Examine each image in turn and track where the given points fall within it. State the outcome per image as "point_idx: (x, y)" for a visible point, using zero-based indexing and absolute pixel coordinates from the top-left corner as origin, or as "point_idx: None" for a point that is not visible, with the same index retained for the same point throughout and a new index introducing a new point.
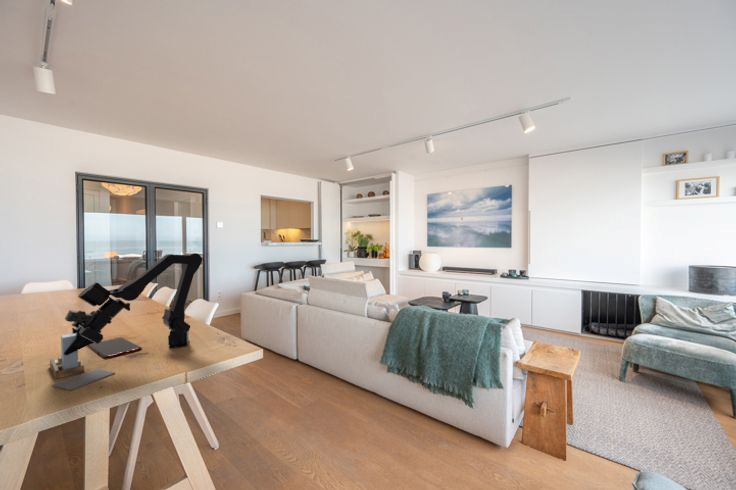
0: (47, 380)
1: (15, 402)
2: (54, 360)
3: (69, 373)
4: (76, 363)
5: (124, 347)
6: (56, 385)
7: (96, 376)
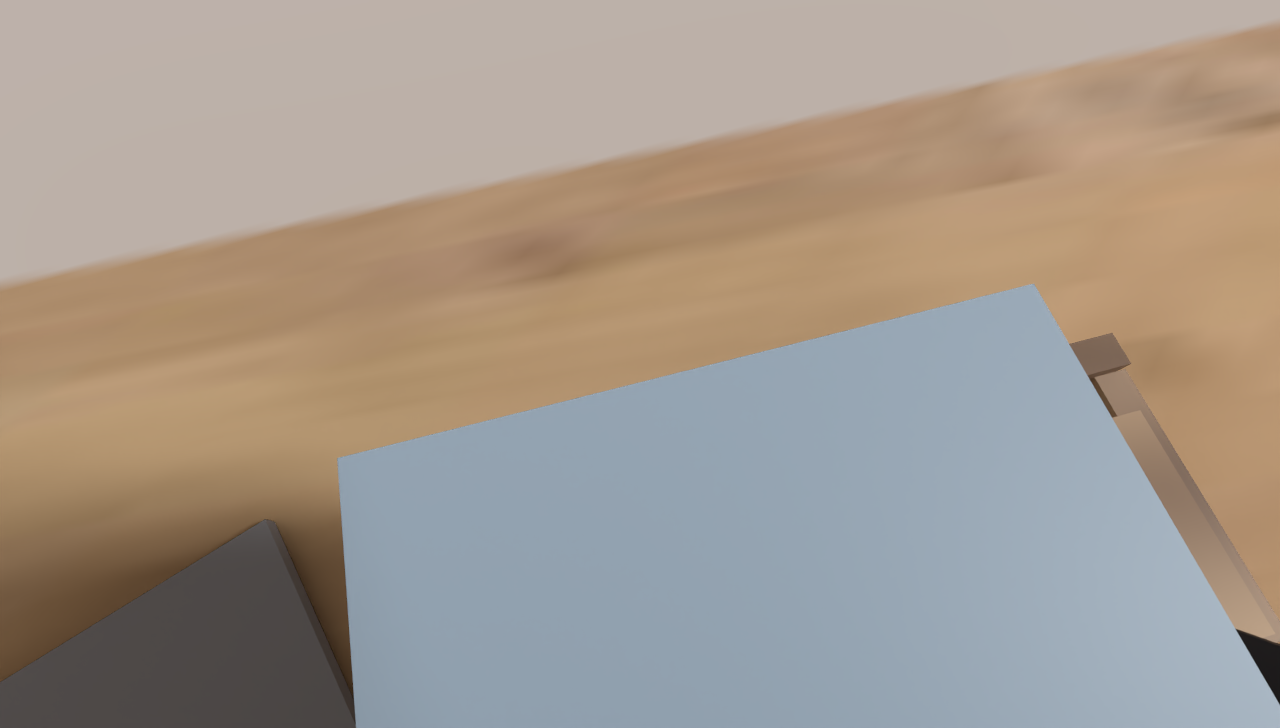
0: None
1: (80, 313)
2: (1108, 384)
3: None
4: None
5: None
6: (191, 570)
7: None
